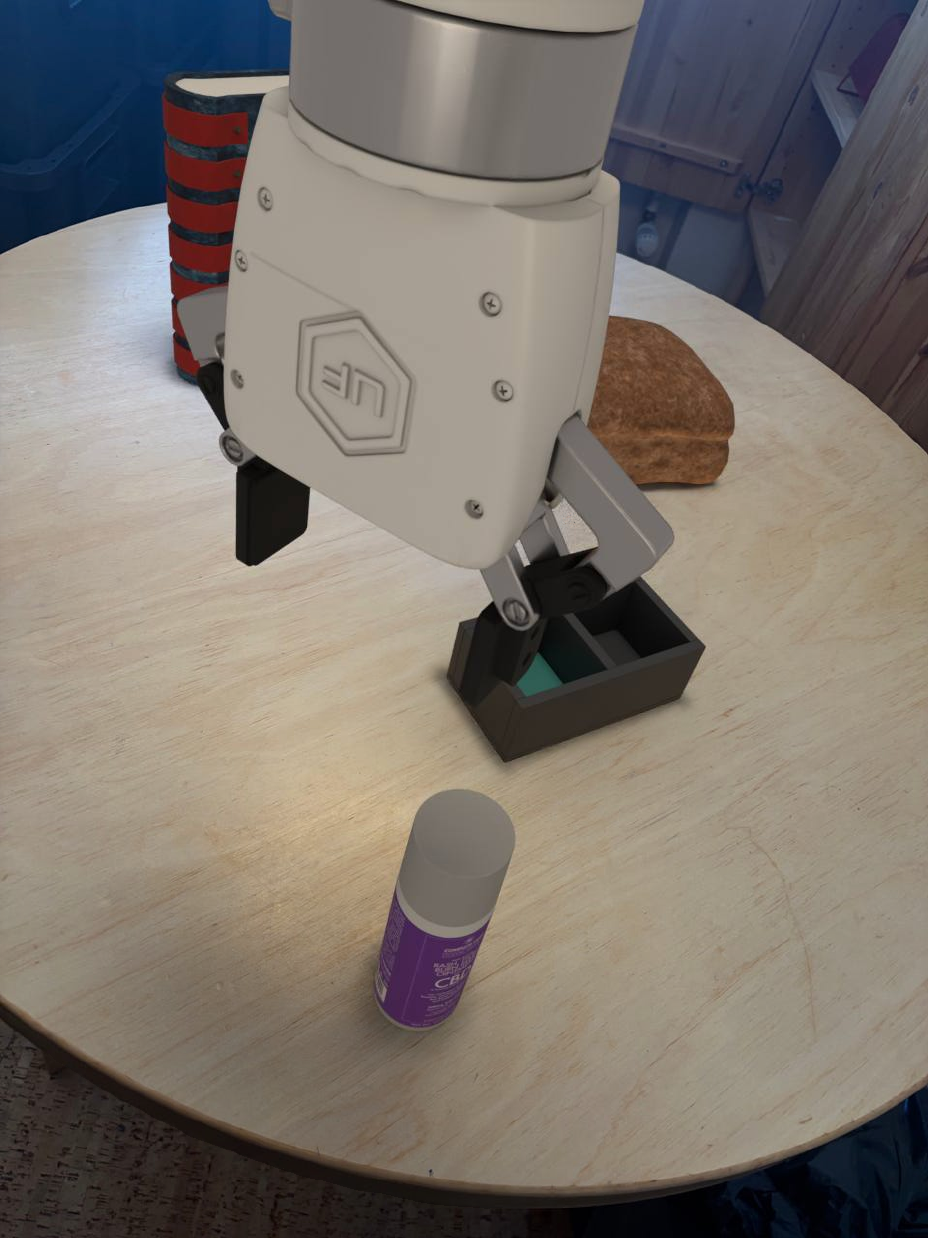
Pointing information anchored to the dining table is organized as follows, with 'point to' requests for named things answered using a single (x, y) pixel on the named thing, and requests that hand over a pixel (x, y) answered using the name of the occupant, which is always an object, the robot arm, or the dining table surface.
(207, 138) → the book
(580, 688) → the dark grey divided box
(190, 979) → the dining table surface
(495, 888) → the container
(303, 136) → the robot arm
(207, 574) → the dining table surface
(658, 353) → the bread
